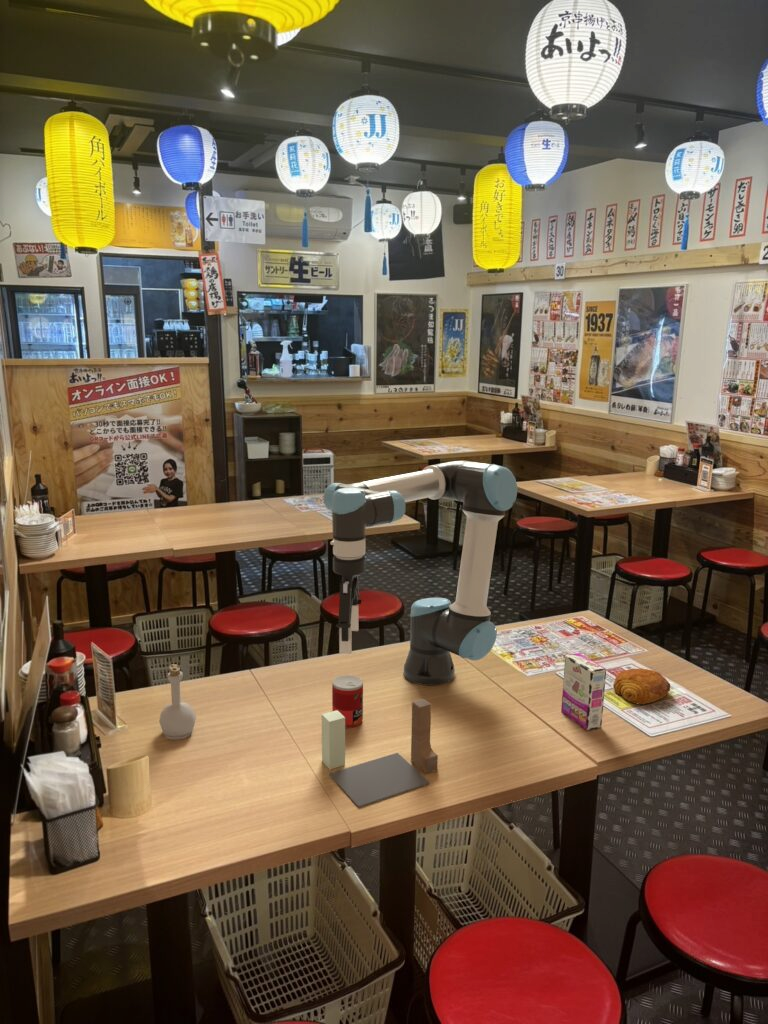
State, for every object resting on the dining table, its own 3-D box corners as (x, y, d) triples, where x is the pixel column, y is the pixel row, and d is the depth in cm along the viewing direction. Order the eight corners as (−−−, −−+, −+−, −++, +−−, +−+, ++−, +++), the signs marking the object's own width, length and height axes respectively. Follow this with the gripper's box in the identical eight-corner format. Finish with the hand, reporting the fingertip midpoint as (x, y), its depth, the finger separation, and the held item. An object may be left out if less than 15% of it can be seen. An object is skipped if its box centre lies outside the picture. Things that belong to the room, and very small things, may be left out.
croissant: (676, 703, 206) (682, 677, 205) (643, 711, 197) (649, 683, 196) (634, 683, 218) (639, 658, 217) (600, 689, 209) (605, 663, 208)
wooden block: (410, 760, 172) (411, 701, 169) (422, 756, 174) (423, 698, 171) (425, 773, 167) (427, 713, 163) (437, 770, 168) (439, 710, 165)
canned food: (359, 729, 186) (359, 689, 183) (328, 726, 187) (328, 686, 185) (365, 715, 193) (366, 676, 190) (336, 712, 194) (336, 673, 192)
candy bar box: (602, 727, 188) (607, 668, 185) (587, 731, 186) (591, 671, 183) (575, 708, 198) (579, 651, 195) (560, 711, 196) (564, 654, 193)
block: (337, 756, 173) (337, 710, 171) (345, 764, 170) (345, 717, 167) (322, 761, 171) (321, 714, 169) (329, 769, 168) (329, 721, 165)
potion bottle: (184, 720, 189) (181, 655, 185) (202, 733, 183) (199, 666, 179) (153, 732, 183) (148, 665, 179) (170, 746, 177) (166, 677, 173)
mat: (397, 754, 175) (397, 752, 175) (429, 783, 163) (429, 782, 163) (329, 774, 166) (329, 773, 166) (358, 807, 154) (358, 806, 154)
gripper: (340, 540, 182) (341, 621, 186) (324, 571, 157) (325, 662, 162) (370, 541, 181) (370, 622, 186) (358, 572, 157) (359, 664, 162)
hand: (349, 641), depth 174 cm, fingers open, 13 cm apart
